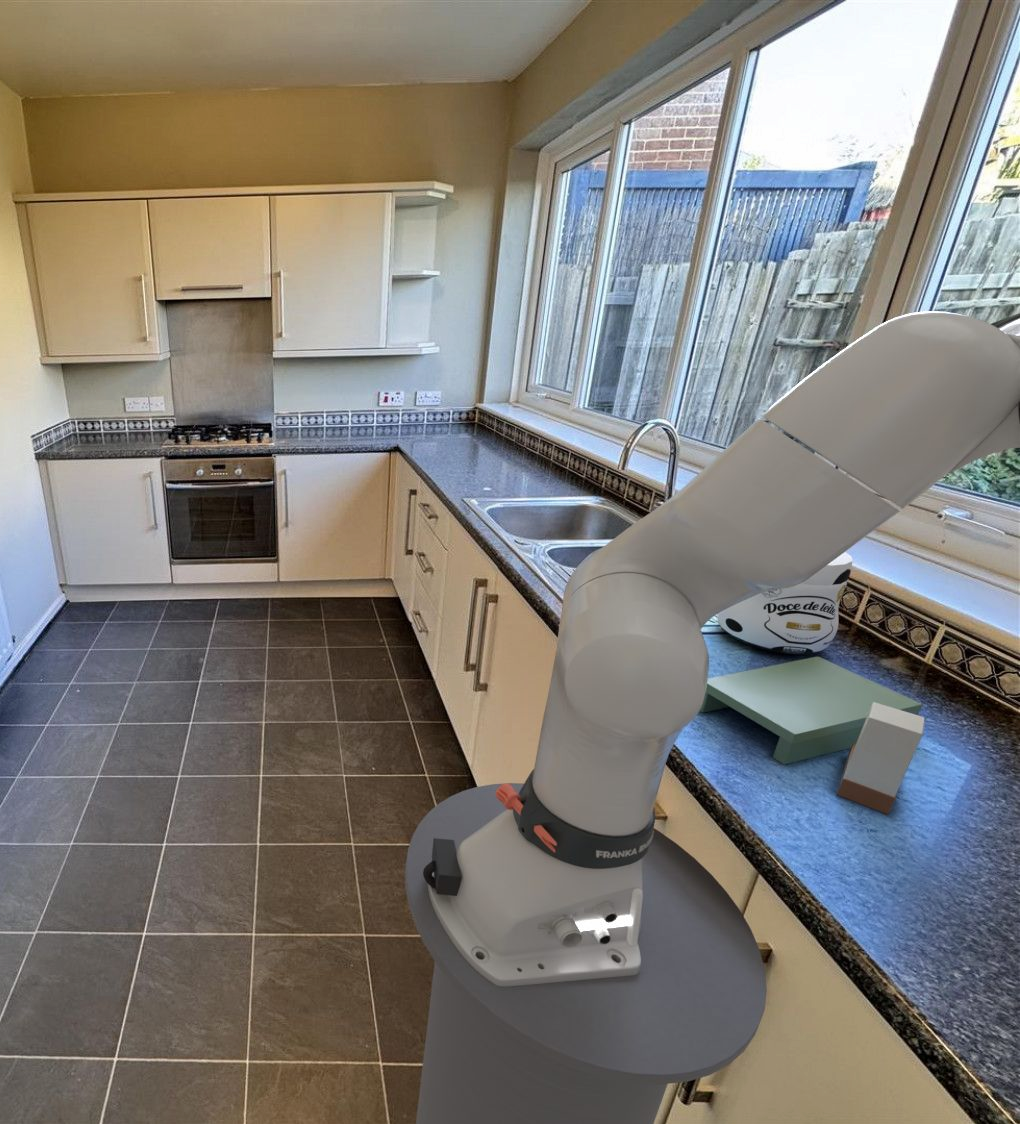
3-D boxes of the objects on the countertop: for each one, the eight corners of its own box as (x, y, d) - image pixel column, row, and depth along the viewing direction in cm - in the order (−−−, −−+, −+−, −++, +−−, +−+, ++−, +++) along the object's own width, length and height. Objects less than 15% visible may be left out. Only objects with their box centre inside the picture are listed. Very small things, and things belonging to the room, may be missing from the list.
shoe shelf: (784, 764, 83) (795, 734, 82) (693, 707, 96) (700, 679, 94) (910, 733, 89) (922, 704, 87) (808, 682, 102) (818, 656, 100)
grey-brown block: (888, 814, 75) (924, 735, 71) (836, 794, 78) (867, 717, 74) (894, 775, 81) (928, 699, 77) (846, 758, 84) (876, 684, 80)
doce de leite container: (792, 672, 105) (826, 575, 98) (691, 629, 120) (715, 542, 113) (849, 650, 111) (884, 557, 105) (747, 612, 126) (772, 528, 119)
